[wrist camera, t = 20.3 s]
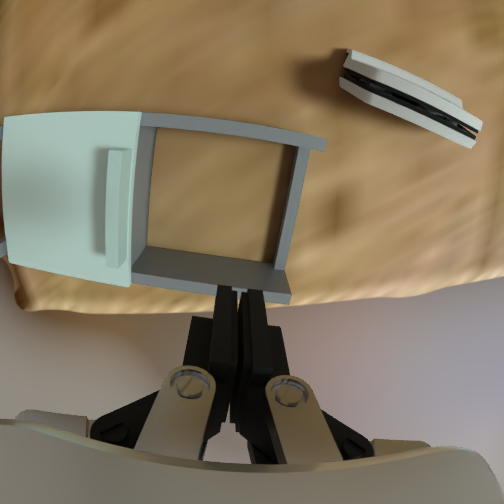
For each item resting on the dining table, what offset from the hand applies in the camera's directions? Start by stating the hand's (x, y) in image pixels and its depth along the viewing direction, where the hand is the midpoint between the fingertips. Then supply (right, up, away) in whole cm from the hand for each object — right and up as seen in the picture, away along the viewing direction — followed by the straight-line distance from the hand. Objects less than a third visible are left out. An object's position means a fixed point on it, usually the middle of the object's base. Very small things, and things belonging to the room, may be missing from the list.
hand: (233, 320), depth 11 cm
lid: (-18, +8, +13) cm, 24 cm away
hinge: (+18, +21, +18) cm, 33 cm away
